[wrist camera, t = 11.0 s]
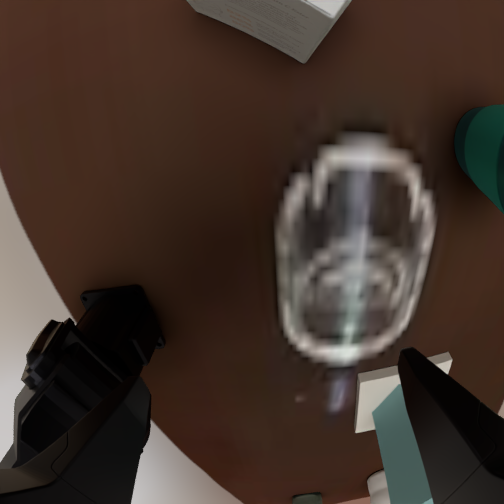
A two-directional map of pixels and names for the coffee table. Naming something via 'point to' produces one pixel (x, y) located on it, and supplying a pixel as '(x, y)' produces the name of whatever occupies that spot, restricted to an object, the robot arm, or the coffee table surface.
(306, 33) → the small box
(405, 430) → the teal block
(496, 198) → the cup
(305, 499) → the power adapter
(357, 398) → the cream tile
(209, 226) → the coffee table surface
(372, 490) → the water bottle
